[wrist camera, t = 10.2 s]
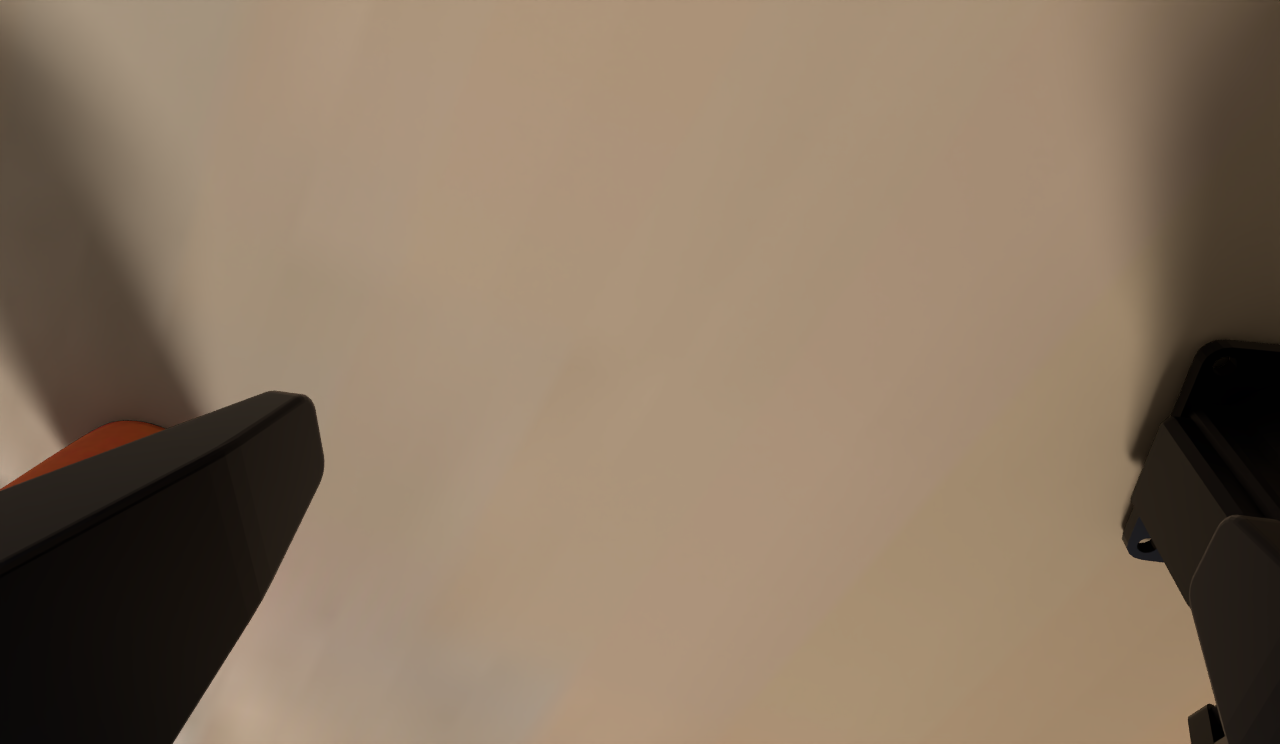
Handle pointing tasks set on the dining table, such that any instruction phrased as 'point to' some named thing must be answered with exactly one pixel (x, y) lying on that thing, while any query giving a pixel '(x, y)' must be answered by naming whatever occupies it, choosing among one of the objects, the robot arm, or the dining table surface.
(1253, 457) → the robot arm
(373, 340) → the dining table surface
